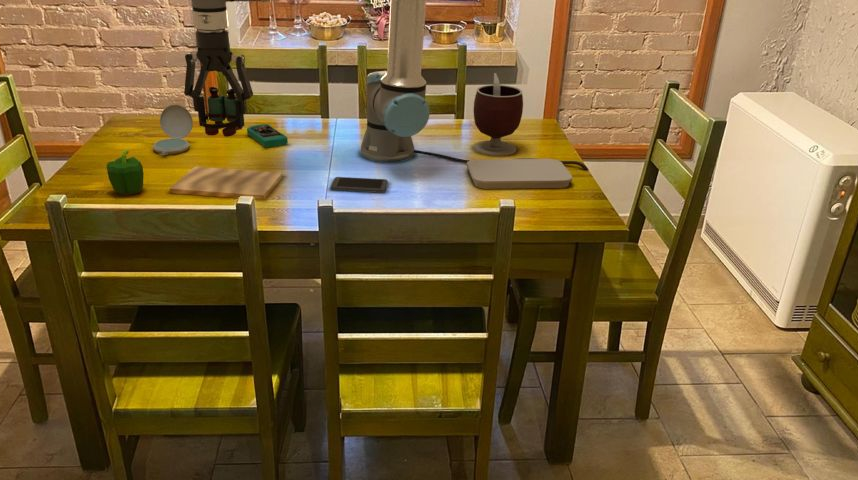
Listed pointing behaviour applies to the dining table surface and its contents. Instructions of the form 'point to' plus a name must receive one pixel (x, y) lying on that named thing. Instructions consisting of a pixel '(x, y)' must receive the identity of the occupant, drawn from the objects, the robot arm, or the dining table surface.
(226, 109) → the binoculars
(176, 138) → the grey compact mirror
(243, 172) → the serving board
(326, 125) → the dining table surface
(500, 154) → the mate gourd
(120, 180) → the bell pepper
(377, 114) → the robot arm
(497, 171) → the tablet
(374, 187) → the cell phone
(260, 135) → the digital multimeter
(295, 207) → the dining table surface
